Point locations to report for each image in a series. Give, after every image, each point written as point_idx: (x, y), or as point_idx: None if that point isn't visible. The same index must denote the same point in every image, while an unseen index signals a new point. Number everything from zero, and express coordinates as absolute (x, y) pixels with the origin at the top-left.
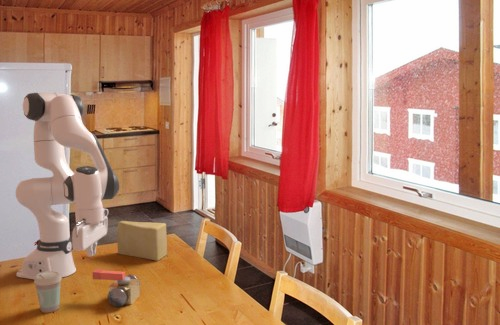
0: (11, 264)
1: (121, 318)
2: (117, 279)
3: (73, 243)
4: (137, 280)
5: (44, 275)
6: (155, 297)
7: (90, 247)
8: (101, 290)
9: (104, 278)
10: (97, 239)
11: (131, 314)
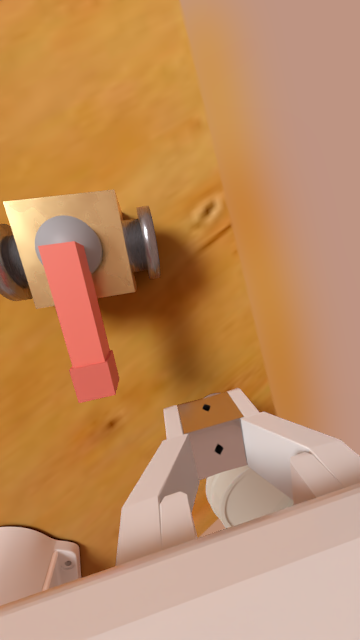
0: None
1: (212, 193)
2: (89, 272)
3: None
4: (20, 202)
5: (263, 509)
6: (32, 150)
7: (344, 450)
8: (63, 368)
9: (104, 333)
10: (196, 579)
11: (181, 175)
